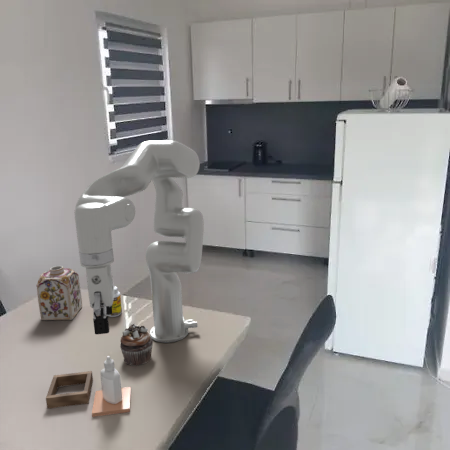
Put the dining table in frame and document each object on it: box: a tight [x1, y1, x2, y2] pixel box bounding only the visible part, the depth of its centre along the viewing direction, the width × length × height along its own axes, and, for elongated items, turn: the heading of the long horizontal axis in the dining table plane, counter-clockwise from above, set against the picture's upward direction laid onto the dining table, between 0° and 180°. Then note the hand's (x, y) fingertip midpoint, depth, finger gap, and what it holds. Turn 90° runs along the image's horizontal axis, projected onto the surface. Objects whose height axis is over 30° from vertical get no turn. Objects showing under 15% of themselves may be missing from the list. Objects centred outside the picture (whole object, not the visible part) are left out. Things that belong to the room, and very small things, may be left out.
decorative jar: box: [36, 265, 83, 321], centre depth 162 cm, size 12×12×18 cm
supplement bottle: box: [106, 285, 123, 318], centre depth 161 cm, size 6×6×10 cm
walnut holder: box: [45, 370, 94, 410], centre depth 117 cm, size 10×10×3 cm
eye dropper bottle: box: [100, 355, 122, 404], centre depth 111 cm, size 4×6×12 cm
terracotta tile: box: [91, 386, 132, 418], centre depth 113 cm, size 9×9×1 cm
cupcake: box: [119, 323, 154, 366], centre depth 132 cm, size 10×10×10 cm
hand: (104, 323), depth 107 cm, fingers open, 9 cm apart
